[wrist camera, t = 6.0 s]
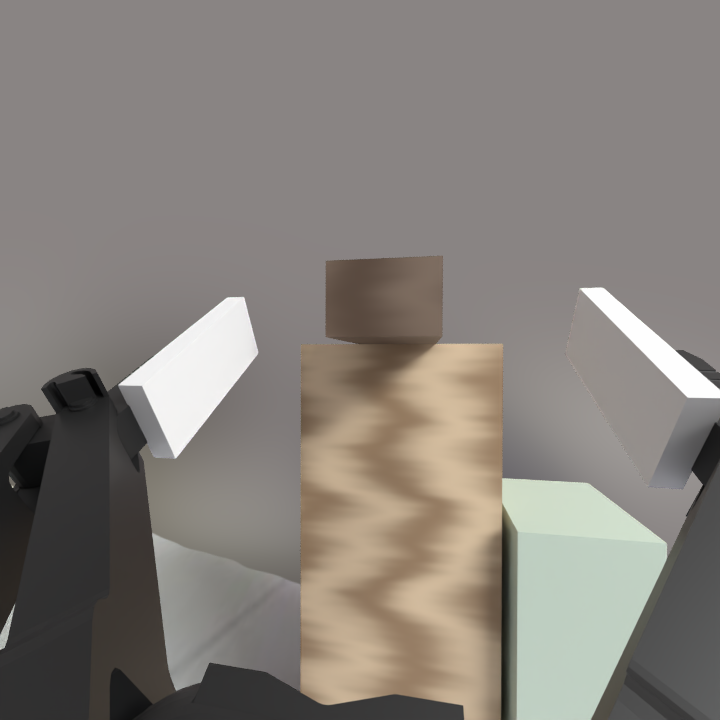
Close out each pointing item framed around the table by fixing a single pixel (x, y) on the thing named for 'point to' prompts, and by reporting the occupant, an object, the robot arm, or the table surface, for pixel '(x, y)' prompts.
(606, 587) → the green pedestal
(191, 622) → the table surface
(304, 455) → the oak stand
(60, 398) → the robot arm
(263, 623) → the table surface
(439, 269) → the domino case
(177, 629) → the table surface
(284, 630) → the table surface
